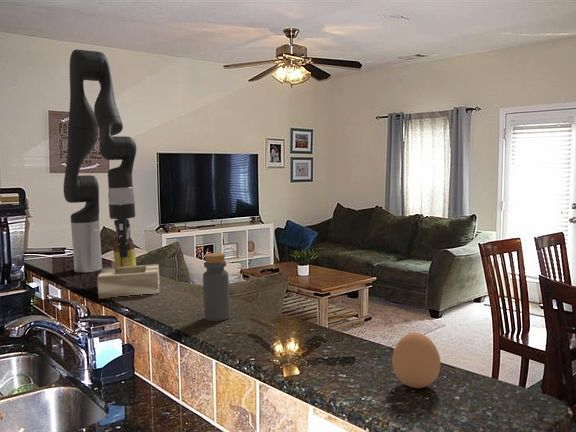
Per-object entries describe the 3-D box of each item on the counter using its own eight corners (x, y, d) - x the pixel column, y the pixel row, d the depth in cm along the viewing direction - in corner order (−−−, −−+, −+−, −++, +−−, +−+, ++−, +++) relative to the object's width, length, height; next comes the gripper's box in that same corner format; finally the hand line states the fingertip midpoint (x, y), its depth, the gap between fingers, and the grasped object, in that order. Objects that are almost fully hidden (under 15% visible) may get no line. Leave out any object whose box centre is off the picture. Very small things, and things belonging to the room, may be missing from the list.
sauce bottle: (140, 280, 169) (136, 218, 167) (133, 285, 163) (129, 220, 161) (120, 281, 170) (116, 218, 168) (112, 285, 163) (108, 220, 162)
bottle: (234, 315, 127) (231, 252, 126) (223, 322, 122) (220, 257, 120) (212, 313, 129) (209, 252, 128) (200, 320, 124) (197, 256, 122)
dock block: (104, 287, 161) (103, 267, 161) (159, 283, 164) (158, 264, 164) (98, 298, 147) (97, 277, 147) (158, 294, 151) (157, 272, 150)
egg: (436, 399, 80) (436, 343, 79) (387, 392, 83) (386, 338, 82) (443, 380, 86) (443, 328, 85) (397, 374, 89) (397, 324, 88)
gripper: (111, 201, 170) (114, 252, 171) (106, 204, 156) (109, 259, 158) (135, 200, 171) (139, 251, 173) (132, 203, 158) (136, 258, 159)
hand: (125, 255), depth 165 cm, fingers open, 8 cm apart
